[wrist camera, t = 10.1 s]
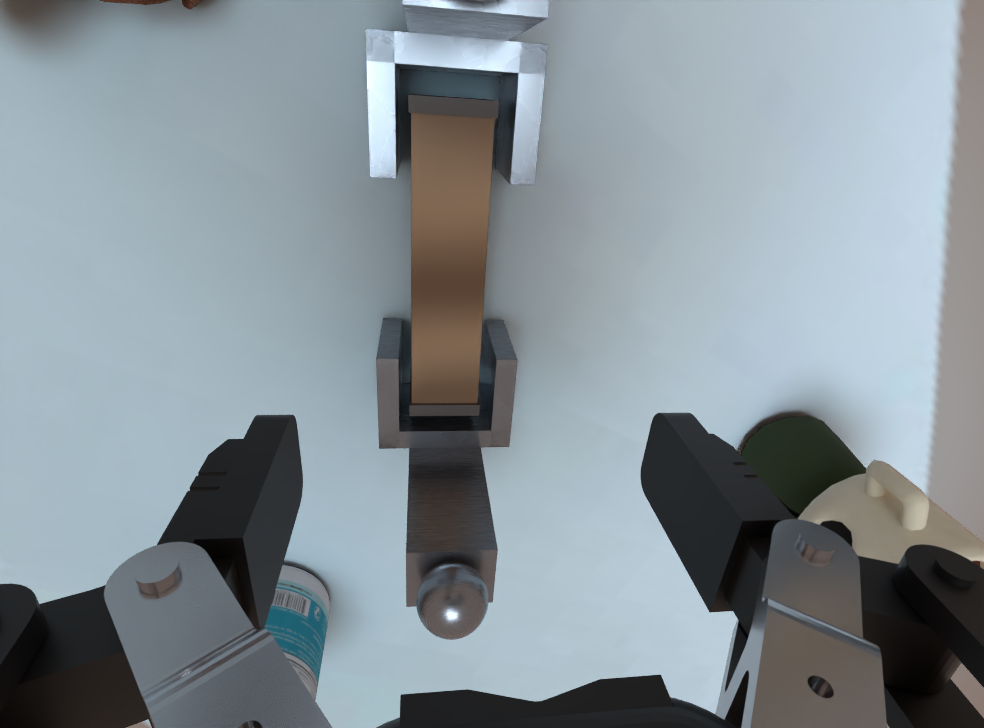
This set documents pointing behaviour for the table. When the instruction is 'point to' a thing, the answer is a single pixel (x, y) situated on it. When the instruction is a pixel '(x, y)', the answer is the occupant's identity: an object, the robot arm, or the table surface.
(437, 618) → the ball knob clevis bracket
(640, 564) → the table surface
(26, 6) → the table surface
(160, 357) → the table surface
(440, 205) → the walnut rail
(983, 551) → the character mug
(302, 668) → the pill bottle
